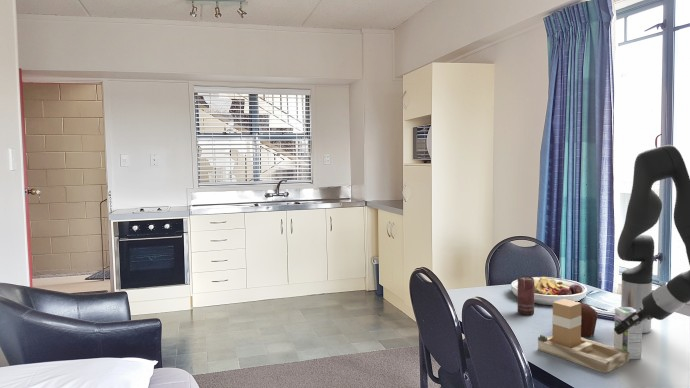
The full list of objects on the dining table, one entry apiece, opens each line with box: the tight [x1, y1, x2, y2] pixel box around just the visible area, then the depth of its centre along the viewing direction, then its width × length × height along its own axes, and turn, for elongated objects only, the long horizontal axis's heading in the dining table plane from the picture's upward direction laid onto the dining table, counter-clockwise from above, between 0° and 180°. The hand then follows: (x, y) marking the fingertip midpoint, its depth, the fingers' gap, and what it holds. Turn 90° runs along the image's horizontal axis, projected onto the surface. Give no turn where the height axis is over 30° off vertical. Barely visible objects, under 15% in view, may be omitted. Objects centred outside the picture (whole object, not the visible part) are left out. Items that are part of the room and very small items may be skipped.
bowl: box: [510, 276, 588, 306], centre depth 223 cm, size 30×30×8 cm
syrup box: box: [613, 306, 643, 360], centre depth 160 cm, size 6×6×14 cm
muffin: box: [580, 302, 599, 338], centre depth 180 cm, size 12×11×10 cm
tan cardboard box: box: [551, 299, 582, 348], centre depth 165 cm, size 6×6×15 cm
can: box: [517, 276, 535, 317], centre depth 201 cm, size 6×6×14 cm
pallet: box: [537, 334, 630, 374], centre depth 161 cm, size 13×22×5 cm, turn 34°
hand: (623, 328), depth 161 cm, fingers closed on syrup box, 7 cm apart
